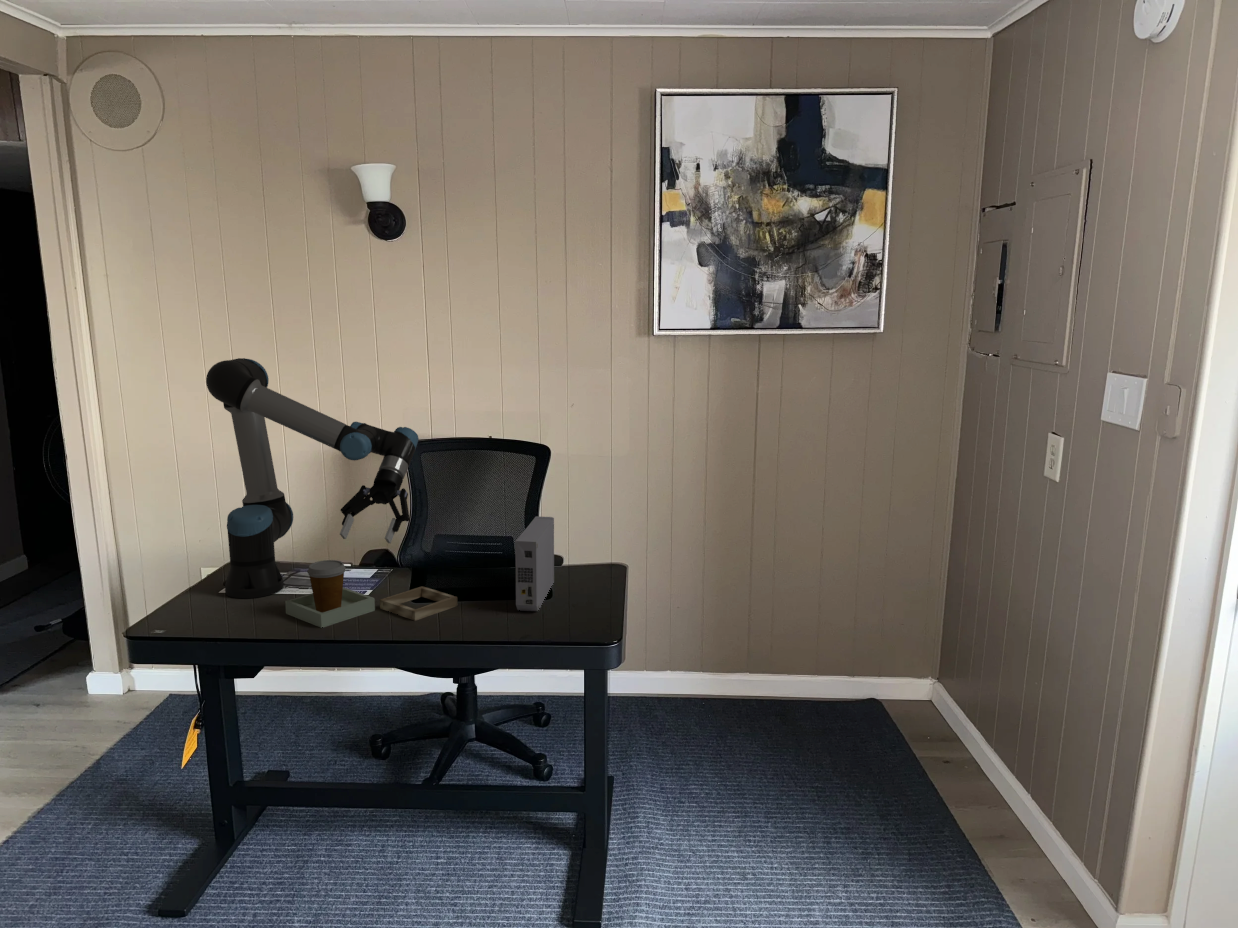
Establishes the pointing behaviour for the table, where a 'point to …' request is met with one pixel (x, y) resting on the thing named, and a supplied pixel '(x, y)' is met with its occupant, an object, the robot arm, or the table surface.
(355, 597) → the tray
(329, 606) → the disposable coffee cup
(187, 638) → the table surface
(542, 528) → the game console
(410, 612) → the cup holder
